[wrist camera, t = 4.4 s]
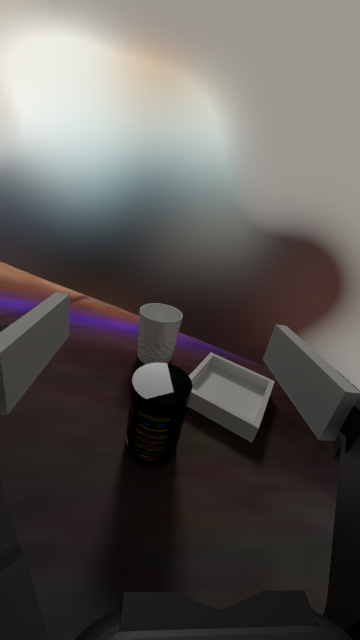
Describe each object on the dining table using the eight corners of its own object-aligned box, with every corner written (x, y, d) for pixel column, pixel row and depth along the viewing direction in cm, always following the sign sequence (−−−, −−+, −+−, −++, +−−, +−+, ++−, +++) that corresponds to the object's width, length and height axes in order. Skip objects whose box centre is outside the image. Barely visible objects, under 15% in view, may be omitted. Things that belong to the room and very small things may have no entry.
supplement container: (182, 464, 29) (201, 401, 25) (126, 474, 27) (135, 406, 23) (170, 419, 35) (183, 361, 31) (122, 424, 33) (129, 362, 28)
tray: (252, 443, 34) (258, 428, 33) (176, 399, 39) (179, 385, 37) (268, 393, 44) (274, 381, 43) (207, 364, 49) (210, 352, 48)
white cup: (128, 348, 49) (133, 304, 45) (163, 343, 53) (170, 302, 49) (143, 372, 43) (150, 324, 39) (180, 364, 47) (190, 320, 43)
